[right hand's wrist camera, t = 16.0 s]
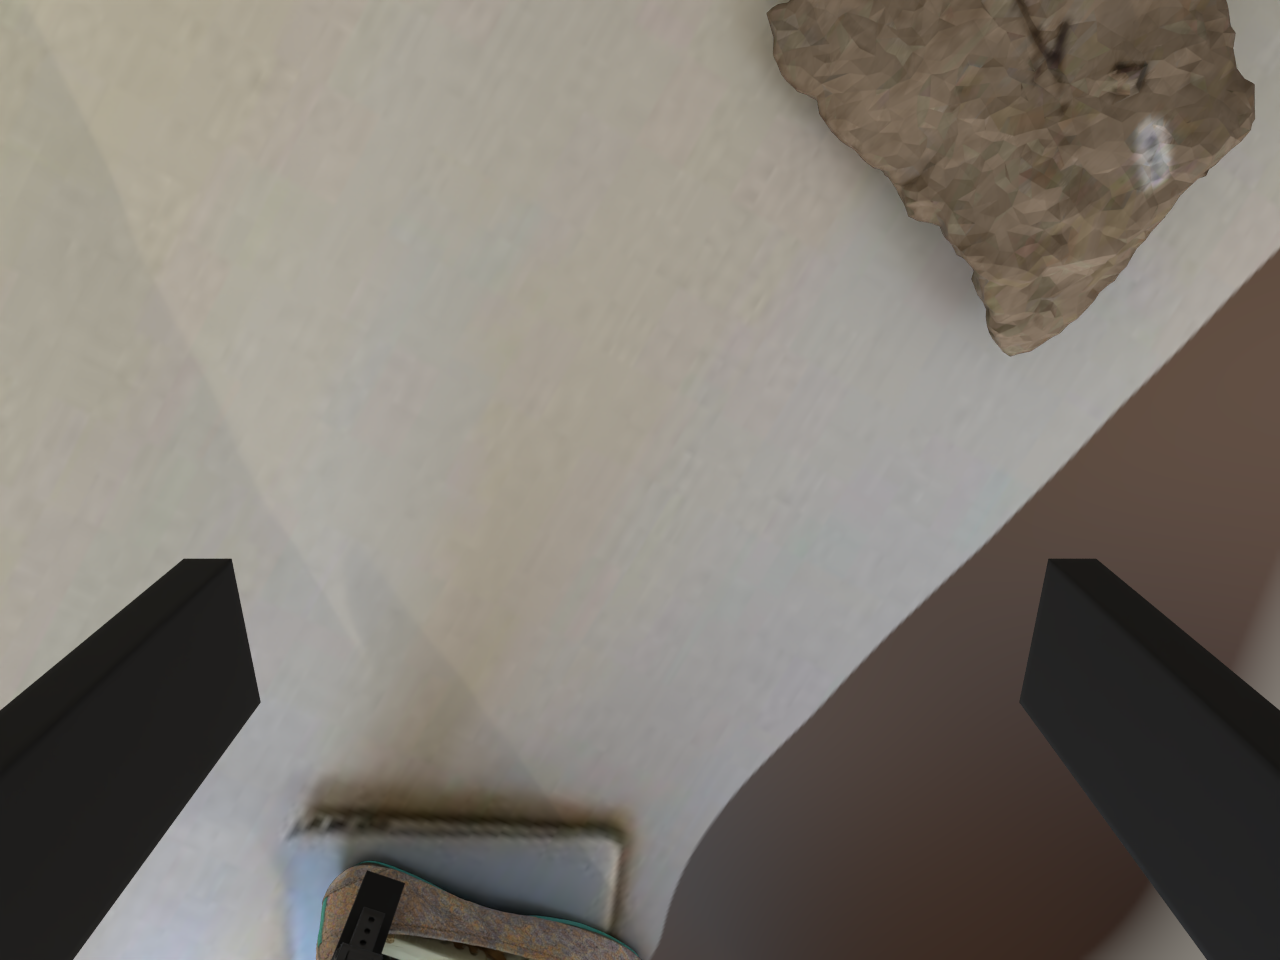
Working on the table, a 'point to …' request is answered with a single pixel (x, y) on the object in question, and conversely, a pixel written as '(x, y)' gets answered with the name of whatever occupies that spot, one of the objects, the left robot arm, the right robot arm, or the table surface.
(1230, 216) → the table surface
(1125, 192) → the stone
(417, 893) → the ballet flat
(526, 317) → the table surface
